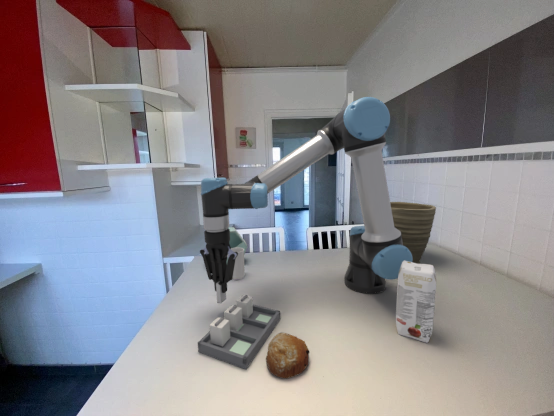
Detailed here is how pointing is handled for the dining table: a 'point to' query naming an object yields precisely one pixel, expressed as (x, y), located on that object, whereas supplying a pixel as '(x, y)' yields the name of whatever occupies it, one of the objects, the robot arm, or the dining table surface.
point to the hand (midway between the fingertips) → (221, 300)
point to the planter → (236, 240)
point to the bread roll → (287, 355)
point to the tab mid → (234, 317)
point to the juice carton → (415, 300)
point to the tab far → (245, 305)
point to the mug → (238, 264)
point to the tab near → (220, 331)
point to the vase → (413, 225)
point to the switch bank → (243, 338)
